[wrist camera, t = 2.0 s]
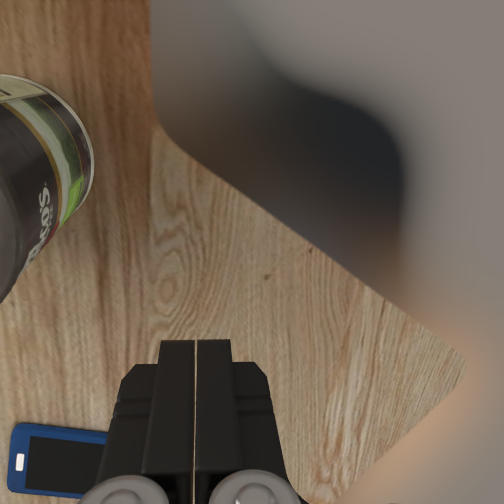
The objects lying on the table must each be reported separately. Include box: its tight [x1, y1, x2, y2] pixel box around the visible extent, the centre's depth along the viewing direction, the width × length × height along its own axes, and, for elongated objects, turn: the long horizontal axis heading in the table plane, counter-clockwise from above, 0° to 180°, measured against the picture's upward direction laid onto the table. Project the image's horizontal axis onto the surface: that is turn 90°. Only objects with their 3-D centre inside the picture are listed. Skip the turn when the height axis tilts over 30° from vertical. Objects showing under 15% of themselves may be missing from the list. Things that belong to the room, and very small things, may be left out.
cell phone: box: [7, 423, 108, 499], centre depth 41 cm, size 7×14×1 cm, turn 75°
